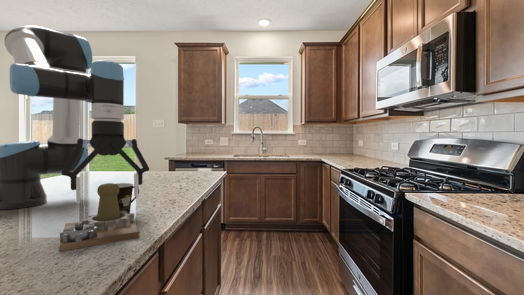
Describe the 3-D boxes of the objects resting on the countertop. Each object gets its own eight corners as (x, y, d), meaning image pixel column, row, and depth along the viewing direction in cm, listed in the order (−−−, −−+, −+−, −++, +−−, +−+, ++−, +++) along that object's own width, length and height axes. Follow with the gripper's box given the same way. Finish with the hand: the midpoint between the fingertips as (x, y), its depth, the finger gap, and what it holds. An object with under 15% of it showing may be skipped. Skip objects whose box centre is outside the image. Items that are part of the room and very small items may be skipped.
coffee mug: (105, 223, 78) (105, 189, 78) (99, 216, 84) (99, 185, 84) (146, 215, 86) (146, 184, 85) (138, 210, 92) (138, 181, 92)
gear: (61, 235, 64) (61, 222, 64) (96, 230, 68) (96, 217, 68) (58, 245, 58) (58, 231, 58) (97, 239, 62) (97, 225, 61)
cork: (109, 228, 69) (109, 186, 69) (90, 226, 70) (89, 185, 70) (126, 221, 75) (126, 182, 74) (107, 219, 76) (107, 181, 76)
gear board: (65, 228, 73) (65, 216, 72) (130, 219, 81) (130, 208, 81) (59, 251, 58) (59, 235, 58) (139, 237, 67) (139, 223, 67)
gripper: (46, 117, 62) (48, 208, 62) (159, 122, 75) (160, 196, 76) (50, 119, 68) (52, 201, 69) (154, 123, 81) (154, 192, 82)
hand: (108, 199), depth 72 cm, fingers open, 13 cm apart
